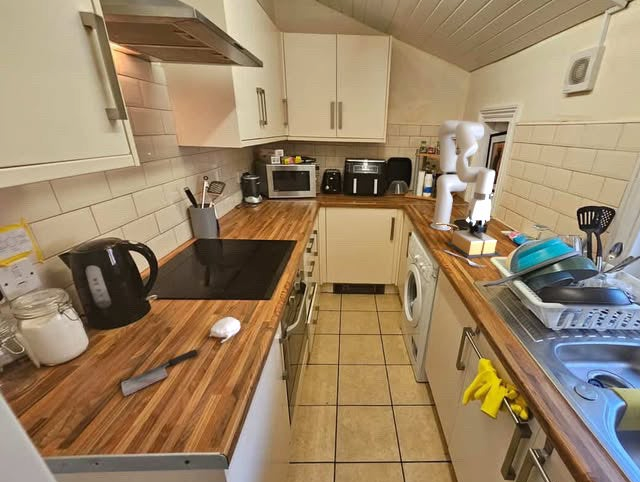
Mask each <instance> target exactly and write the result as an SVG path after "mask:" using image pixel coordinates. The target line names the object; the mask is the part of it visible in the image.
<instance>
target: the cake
mask: <svg viewBox="0 0 640 482" xmlns="http://www.w3.org/2000/svg"><path fill="white" fill-rule="evenodd" d="M467 231H468V229H466V230H453V232H452V238H451V241H446V242H445V244H447V245H448V246H449V247H451V248H452V249H454V250H455V252H457V253H459V254H460V255H461V256H462V257H464V258H466V259H474V258H487V257H498V256H499V257H500V256H501V254H500V253H498V251H497V252H496V246H497V241H498V239H496V238H494V237H492V236H491V235H488V234H486V233H485V232H483V233H482V234H483V237H482V240H481V239H479V238H477V237H475V236H474V235H472V234H470V233H468V232H467Z"/></svg>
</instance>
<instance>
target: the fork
mask: <svg viewBox="0 0 640 482" xmlns="http://www.w3.org/2000/svg"><path fill="white" fill-rule="evenodd" d="M443 252H445V253H447V254H449V255H453V256H455V257H458V258H461V259H464V260H466V261H467V262H468V264H469V265H470V266H472V267H477V268H478V267H479V268H482V267H483V268H484V267H487V265H486V264H485V265H484V264H479V263H476V262H473V261H471V260H470V259H469V258H466V257H465V256H462V255H458V254H456V253H454V252H452V251H449V250H447V249H443Z"/></svg>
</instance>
